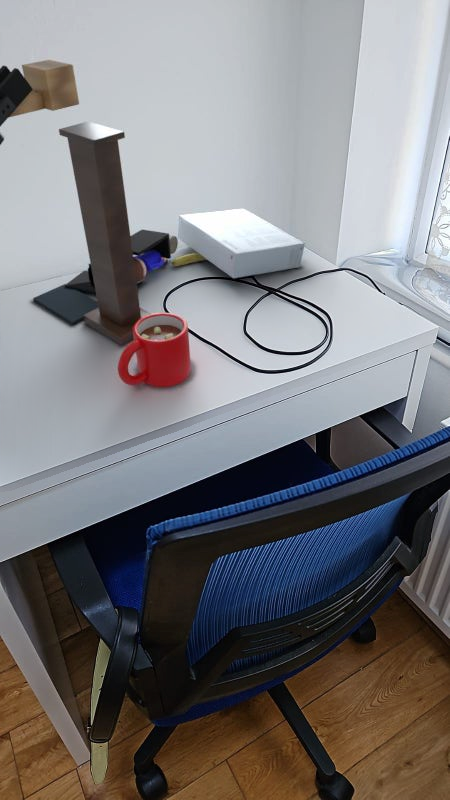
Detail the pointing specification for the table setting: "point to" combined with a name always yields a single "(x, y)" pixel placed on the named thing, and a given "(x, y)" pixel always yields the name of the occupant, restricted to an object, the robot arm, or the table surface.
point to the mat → (67, 303)
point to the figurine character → (151, 250)
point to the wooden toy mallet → (48, 87)
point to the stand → (105, 228)
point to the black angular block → (85, 282)
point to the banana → (188, 259)
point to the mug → (158, 351)
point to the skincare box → (240, 242)
